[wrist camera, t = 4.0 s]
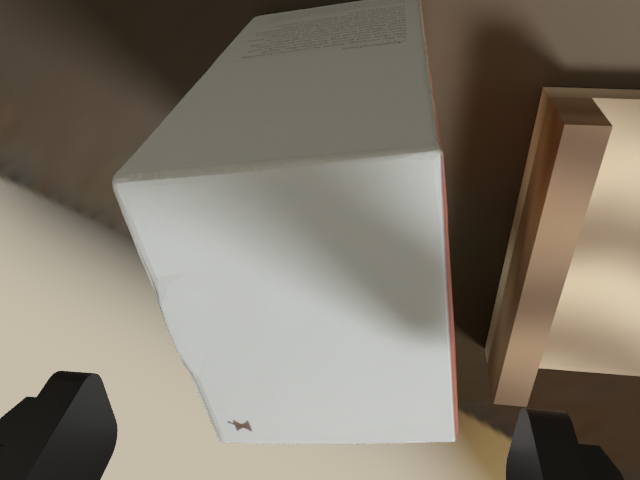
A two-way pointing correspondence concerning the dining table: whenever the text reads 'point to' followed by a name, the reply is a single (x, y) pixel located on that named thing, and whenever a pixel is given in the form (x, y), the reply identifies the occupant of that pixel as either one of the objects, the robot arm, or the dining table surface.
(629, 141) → the slot rack
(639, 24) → the dining table surface
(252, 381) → the small box
